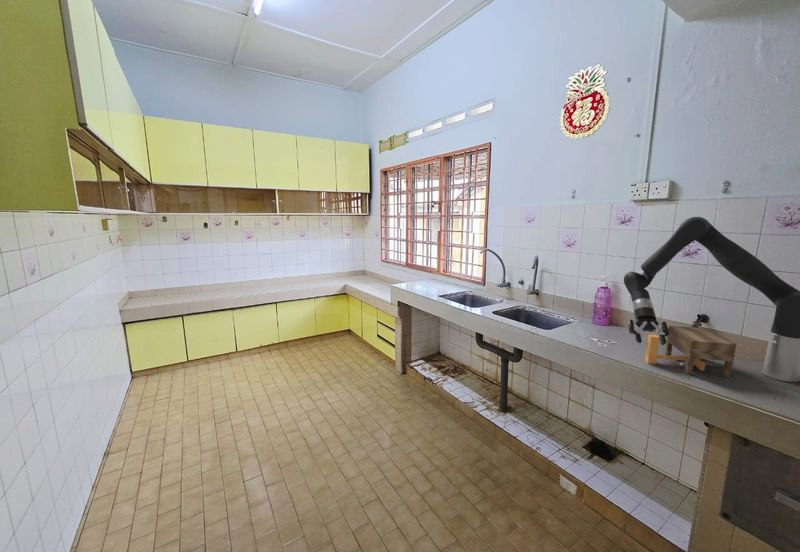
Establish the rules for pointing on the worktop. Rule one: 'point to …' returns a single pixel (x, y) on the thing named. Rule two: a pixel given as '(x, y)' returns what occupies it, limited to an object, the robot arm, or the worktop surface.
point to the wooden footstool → (701, 346)
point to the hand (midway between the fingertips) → (651, 343)
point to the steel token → (683, 364)
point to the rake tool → (653, 350)
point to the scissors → (600, 340)
